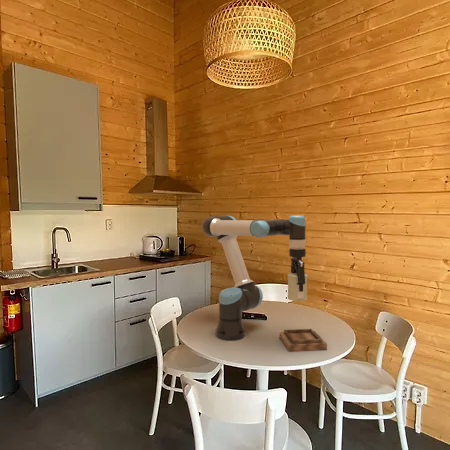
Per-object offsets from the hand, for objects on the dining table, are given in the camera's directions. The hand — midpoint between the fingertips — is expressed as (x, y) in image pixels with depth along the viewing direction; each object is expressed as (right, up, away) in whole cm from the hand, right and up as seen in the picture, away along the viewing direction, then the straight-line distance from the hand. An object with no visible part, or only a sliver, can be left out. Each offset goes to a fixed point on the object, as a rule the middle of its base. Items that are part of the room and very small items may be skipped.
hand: (297, 295), depth 164 cm
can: (0, -2, 0) cm, 2 cm away
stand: (+3, -24, +3) cm, 24 cm away
